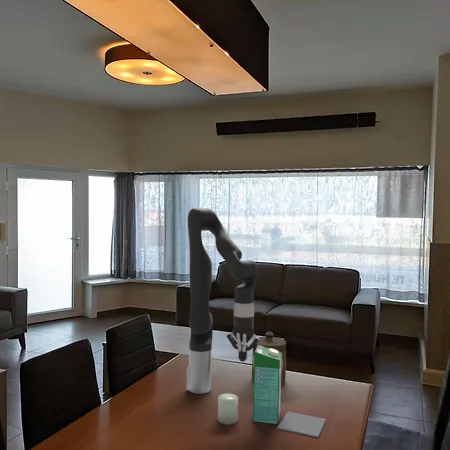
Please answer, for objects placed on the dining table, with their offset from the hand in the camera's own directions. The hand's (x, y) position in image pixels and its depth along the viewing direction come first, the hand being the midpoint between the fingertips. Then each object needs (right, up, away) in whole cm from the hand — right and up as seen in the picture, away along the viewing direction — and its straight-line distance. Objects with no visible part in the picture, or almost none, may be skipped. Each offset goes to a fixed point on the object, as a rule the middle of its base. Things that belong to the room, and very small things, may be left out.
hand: (242, 360), depth 167 cm
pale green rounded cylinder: (-6, -19, -6) cm, 21 cm away
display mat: (+20, -20, -8) cm, 30 cm away
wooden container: (+13, -19, +32) cm, 39 cm away
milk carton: (+9, -20, -3) cm, 22 cm away
